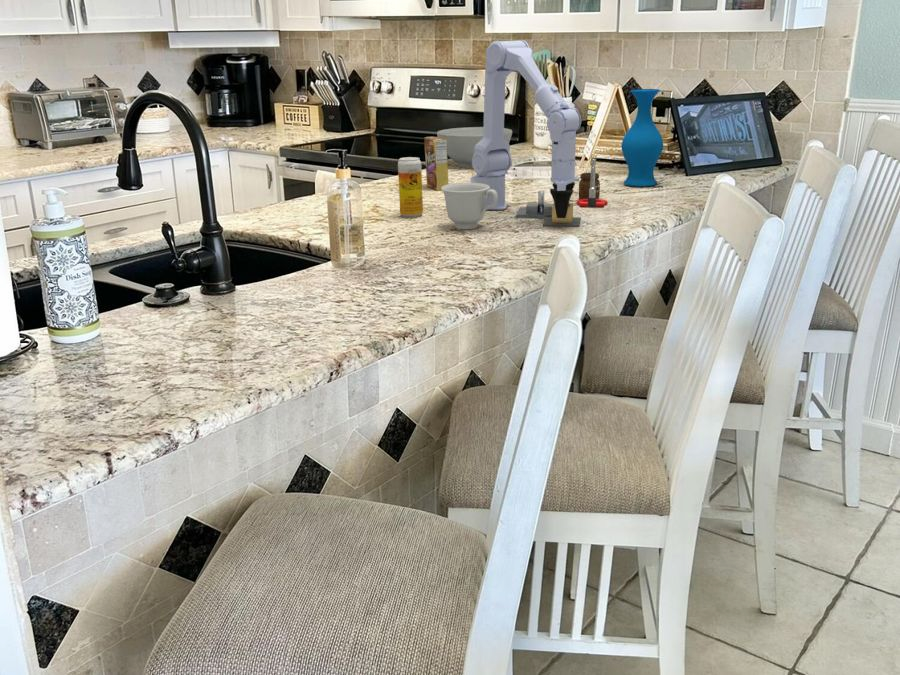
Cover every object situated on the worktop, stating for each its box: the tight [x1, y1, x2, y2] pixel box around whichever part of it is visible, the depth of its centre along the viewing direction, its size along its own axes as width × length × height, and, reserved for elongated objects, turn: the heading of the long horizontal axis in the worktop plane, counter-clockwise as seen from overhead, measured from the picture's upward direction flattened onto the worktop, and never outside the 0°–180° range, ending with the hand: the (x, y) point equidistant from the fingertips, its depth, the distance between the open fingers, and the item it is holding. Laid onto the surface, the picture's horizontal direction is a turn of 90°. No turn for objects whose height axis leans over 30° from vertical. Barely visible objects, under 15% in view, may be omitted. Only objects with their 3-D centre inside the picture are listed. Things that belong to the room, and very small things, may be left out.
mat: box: [542, 216, 582, 228], centre depth 211 cm, size 9×9×1 cm
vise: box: [515, 190, 553, 219], centre depth 220 cm, size 13×10×6 cm
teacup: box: [441, 182, 498, 230], centre depth 207 cm, size 12×15×10 cm
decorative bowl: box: [436, 126, 513, 169], centre depth 301 cm, size 27×27×12 cm
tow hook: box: [576, 158, 608, 208], centre depth 230 cm, size 8×13×9 cm
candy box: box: [423, 136, 449, 192], centre depth 259 cm, size 9×4×15 cm, turn 23°
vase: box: [621, 88, 664, 188], centre depth 253 cm, size 12×13×28 cm
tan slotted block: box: [552, 202, 574, 223], centre depth 210 cm, size 5×5×4 cm
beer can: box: [397, 156, 424, 219], centre depth 221 cm, size 6×6×15 cm
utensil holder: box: [578, 154, 601, 200], centre depth 238 cm, size 6×6×12 cm
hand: (562, 214), depth 210 cm, fingers open, 7 cm apart
